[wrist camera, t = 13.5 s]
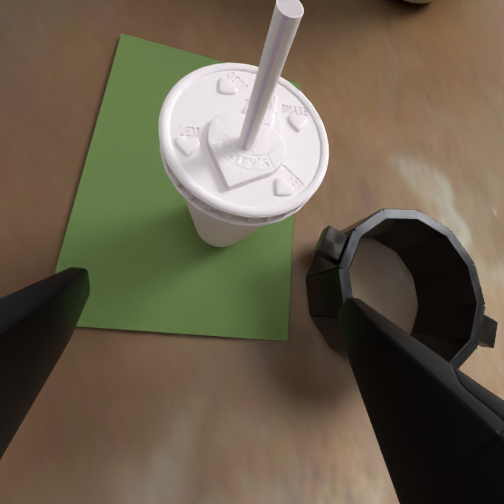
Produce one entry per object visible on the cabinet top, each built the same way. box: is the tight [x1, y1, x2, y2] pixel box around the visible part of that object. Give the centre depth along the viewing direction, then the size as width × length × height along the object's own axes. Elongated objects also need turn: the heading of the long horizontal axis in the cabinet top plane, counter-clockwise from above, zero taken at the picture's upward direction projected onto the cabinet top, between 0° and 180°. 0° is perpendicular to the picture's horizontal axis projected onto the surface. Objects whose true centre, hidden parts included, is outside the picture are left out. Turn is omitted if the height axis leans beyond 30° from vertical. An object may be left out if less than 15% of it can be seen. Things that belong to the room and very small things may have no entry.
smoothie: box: [158, 0, 329, 247], centre depth 12 cm, size 6×6×14 cm
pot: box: [306, 209, 498, 369], centre depth 18 cm, size 10×13×4 cm
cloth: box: [55, 33, 300, 341], centre depth 19 cm, size 22×15×1 cm
